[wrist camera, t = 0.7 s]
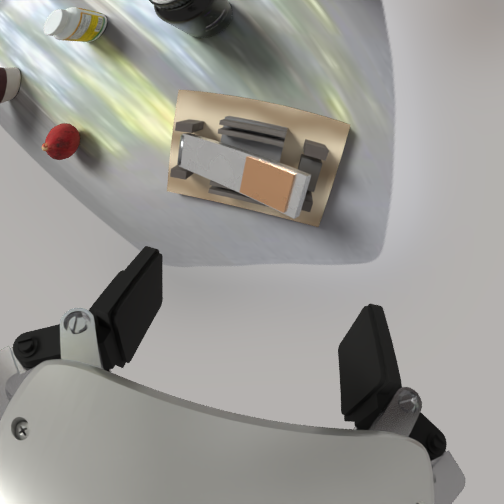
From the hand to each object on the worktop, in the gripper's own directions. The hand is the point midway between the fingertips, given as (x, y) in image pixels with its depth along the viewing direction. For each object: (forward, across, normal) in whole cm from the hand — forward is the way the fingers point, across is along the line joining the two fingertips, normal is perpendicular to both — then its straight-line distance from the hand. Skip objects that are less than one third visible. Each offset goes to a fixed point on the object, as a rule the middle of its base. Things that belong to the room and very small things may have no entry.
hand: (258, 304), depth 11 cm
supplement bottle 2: (+26, +14, -18) cm, 35 cm away
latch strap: (+18, +5, 0) cm, 19 cm away
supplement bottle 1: (+26, +33, -18) cm, 46 cm away
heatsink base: (+26, +4, 0) cm, 26 cm away
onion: (+26, +34, +1) cm, 43 cm away
